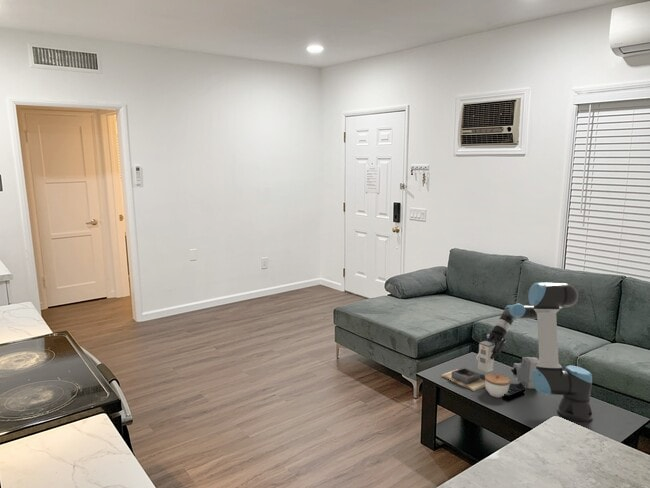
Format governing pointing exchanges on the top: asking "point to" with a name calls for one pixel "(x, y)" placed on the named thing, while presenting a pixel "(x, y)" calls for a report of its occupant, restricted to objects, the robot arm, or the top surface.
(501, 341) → the robot arm
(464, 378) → the socket collar
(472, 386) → the mount board
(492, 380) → the lidded bowl
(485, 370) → the power strip
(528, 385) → the circuit breaker
